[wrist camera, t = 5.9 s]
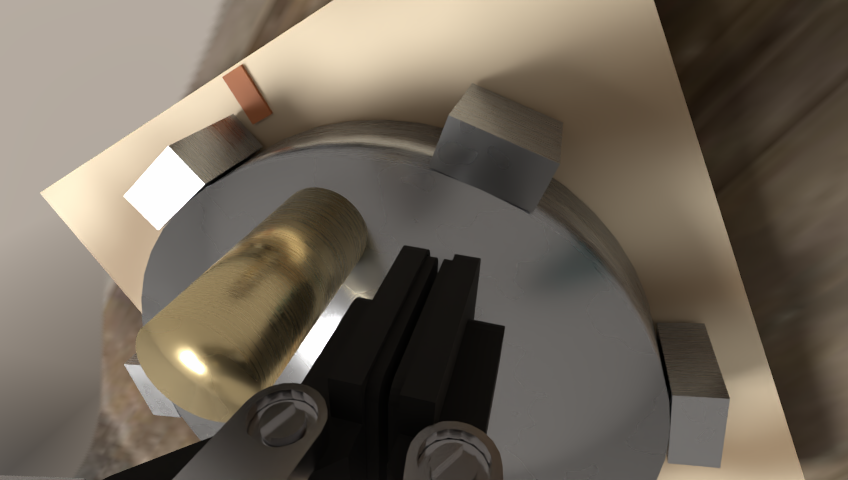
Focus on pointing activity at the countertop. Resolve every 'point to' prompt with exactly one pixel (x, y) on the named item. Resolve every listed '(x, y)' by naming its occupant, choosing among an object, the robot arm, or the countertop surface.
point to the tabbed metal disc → (444, 236)
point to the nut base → (431, 104)
